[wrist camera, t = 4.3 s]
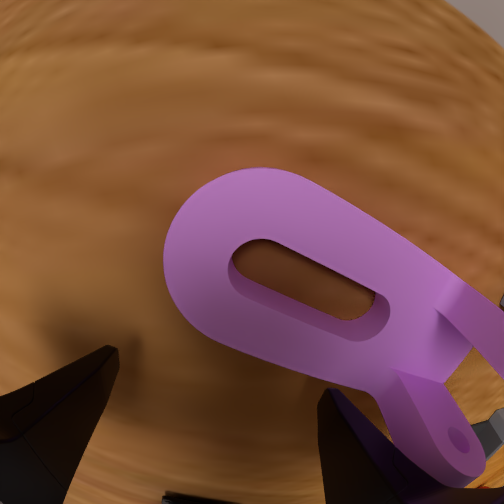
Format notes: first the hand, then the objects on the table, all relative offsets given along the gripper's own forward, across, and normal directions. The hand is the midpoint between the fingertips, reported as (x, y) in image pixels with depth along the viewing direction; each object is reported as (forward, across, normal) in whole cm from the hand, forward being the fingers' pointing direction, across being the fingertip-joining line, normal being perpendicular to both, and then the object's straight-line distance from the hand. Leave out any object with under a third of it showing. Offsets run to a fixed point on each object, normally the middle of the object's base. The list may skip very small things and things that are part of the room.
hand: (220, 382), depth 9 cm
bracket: (+2, -4, -3) cm, 5 cm away
